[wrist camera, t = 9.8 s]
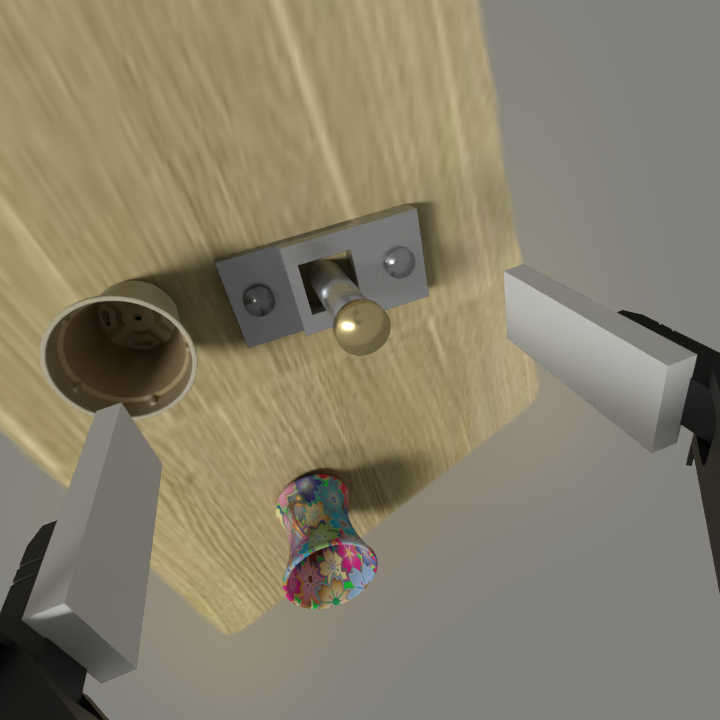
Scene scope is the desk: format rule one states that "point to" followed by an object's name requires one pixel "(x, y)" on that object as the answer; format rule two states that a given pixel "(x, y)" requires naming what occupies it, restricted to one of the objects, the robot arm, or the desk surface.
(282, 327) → the grey slotted base plate
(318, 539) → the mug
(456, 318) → the desk surface
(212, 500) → the desk surface
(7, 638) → the robot arm
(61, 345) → the flower pot
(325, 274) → the pin
